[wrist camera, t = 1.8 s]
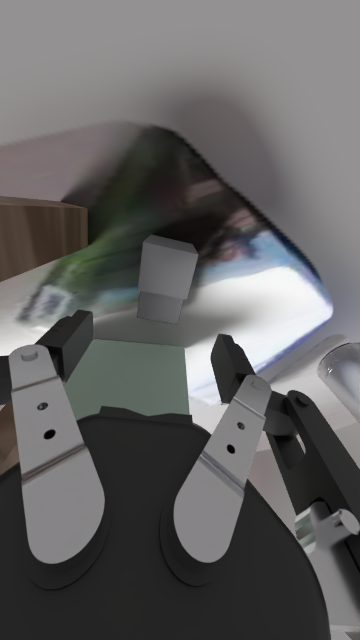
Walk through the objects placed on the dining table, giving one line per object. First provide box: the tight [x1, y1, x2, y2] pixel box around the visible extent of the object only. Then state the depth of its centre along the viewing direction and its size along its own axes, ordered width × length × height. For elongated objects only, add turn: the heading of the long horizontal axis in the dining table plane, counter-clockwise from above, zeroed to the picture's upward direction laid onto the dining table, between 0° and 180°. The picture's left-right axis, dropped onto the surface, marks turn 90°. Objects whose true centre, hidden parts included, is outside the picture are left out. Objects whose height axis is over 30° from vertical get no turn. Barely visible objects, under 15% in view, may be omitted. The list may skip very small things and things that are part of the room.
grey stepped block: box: [137, 235, 199, 324], centre depth 22 cm, size 5×9×6 cm, turn 168°
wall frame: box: [0, 196, 89, 475], centre depth 19 cm, size 3×28×20 cm, turn 168°
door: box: [64, 339, 190, 420], centre depth 23 cm, size 2×14×15 cm, turn 83°
